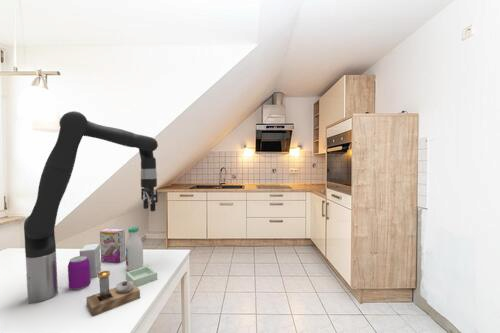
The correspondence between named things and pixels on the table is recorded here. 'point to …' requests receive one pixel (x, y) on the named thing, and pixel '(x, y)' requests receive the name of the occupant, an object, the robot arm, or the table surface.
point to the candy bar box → (112, 245)
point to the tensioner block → (113, 298)
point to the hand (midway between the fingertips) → (149, 209)
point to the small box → (92, 258)
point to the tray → (141, 275)
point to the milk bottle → (134, 250)
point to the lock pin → (104, 285)
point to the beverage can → (78, 272)
